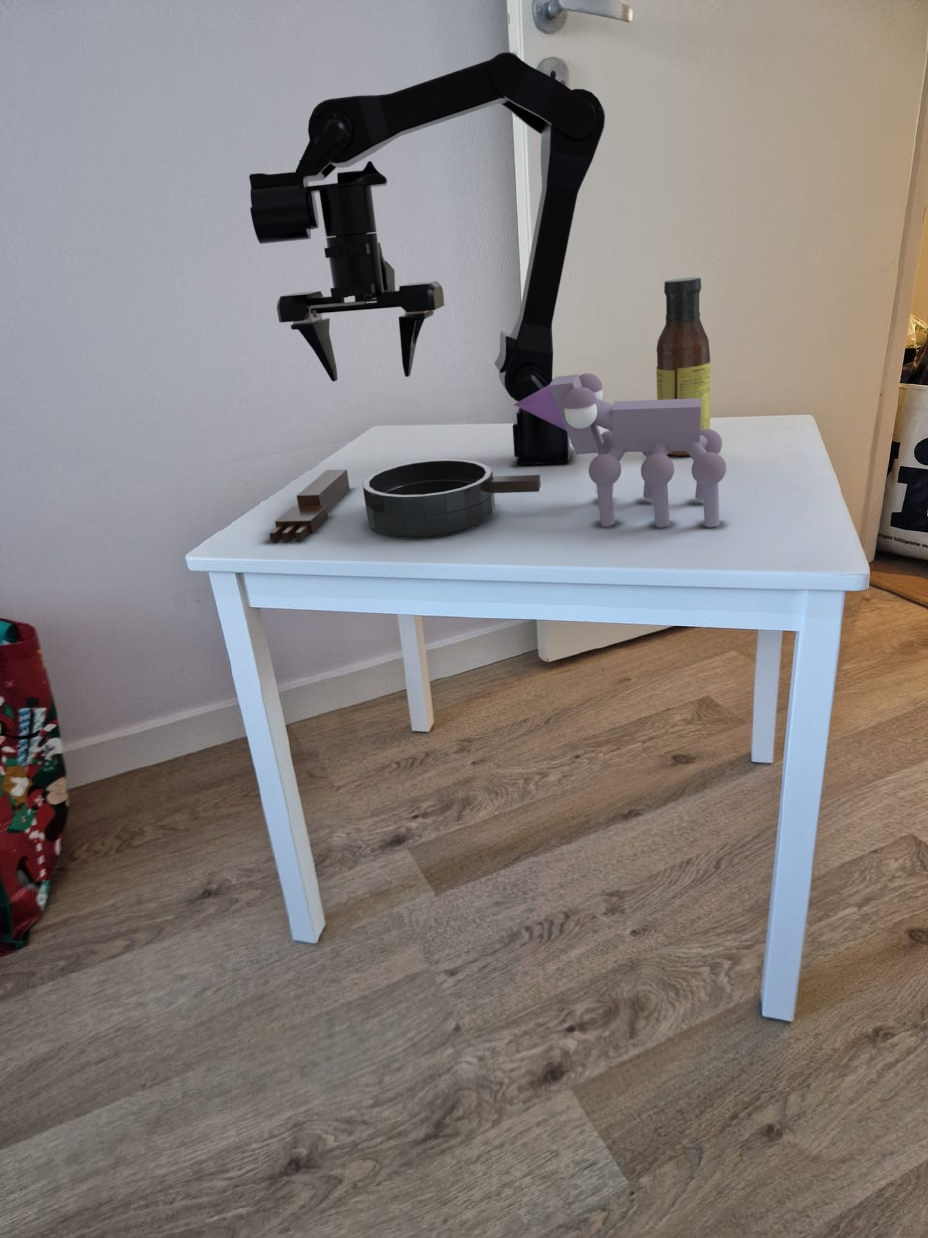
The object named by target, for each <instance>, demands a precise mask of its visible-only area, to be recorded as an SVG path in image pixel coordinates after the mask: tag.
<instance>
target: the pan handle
mask: <svg viewBox="0 0 928 1238" xmlns="http://www.w3.org/2000/svg"><path fill="white" fill-rule="evenodd" d="M541 481H542V480H541V474H527V475H525V474H524V475H497V476H496V475H495V476H494V475H493V477H492V479H491V481H490V490H491V493H494V494H506V493H508V494H510V493H538V492H540V489H541V487H542V484H541V483H542V482H541Z"/></svg>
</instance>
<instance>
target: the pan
mask: <svg viewBox="0 0 928 1238" xmlns="http://www.w3.org/2000/svg"><path fill="white" fill-rule="evenodd" d="M492 477H494V473H493V470H492V468H491V467H490V466H489V465H487V464H485V463H482V462H479V461H474V460H470V459H469V460H468V459H459V458H458V459H457V458H455V459H454V458H444V459H443V458H442V459H441V458H440V459H427V460H426V459H425V460H418V461H411V462H406V463H401V464H397V465H393V466H389V467H387V468H386V467H385V468H384V469H380V470H378V471H376V472H374V473H372V474H370V475H368V476H367V477H366V478H365V479H364V480H363V481H362V491H363V497H364V503H365V511H366V517H367V524H368V526H369V527H371V529H373V530H375V531H377V532H380V533H381V534H383V535H386V536H390V537H393V538H400V539H401V538H402V539H430V538H431V539H433V538H440V537H445V536H452V535H456V534H459V533H463V532H466V531H469V530H472V529H474V528H476V527H478V526H479V525H482V524H484V522H486V520H487V519H489V518H490V517H491V516H493V515H494V512H495V511H496V499H495V493H491V490H490V481H491V479H492Z"/></svg>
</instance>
